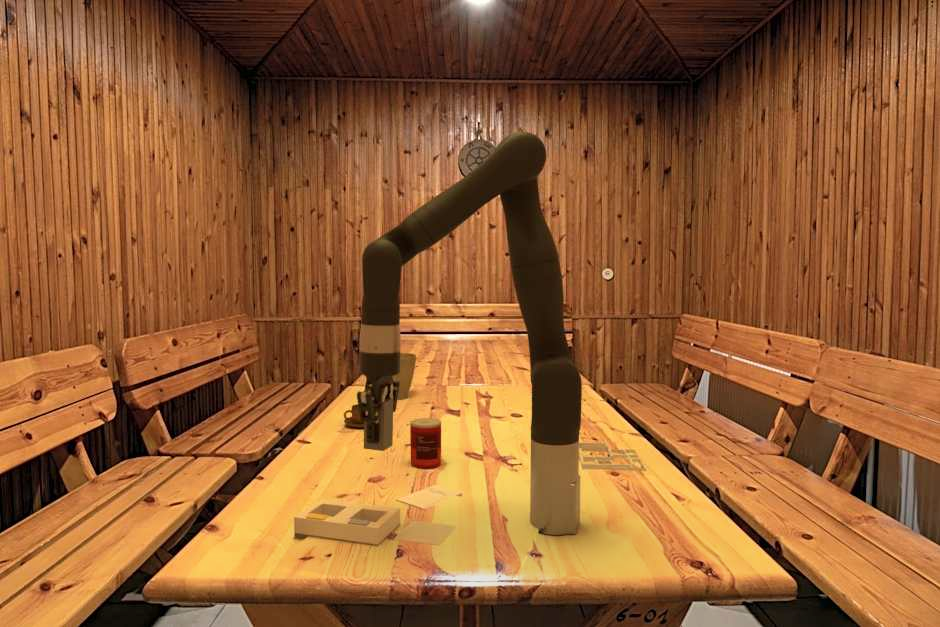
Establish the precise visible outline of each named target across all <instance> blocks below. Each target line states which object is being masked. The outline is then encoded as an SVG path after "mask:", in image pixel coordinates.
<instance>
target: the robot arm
mask: <svg viewBox="0 0 940 627" xmlns="http://www.w3.org/2000/svg"><path fill="white" fill-rule="evenodd" d="M546 161H547V149H546V146H545V144H544V142H543V141H542V139H541V138H540V137H539V136H538V135H536V134H534V133H532V132H528V131H515V132H513V133H510V134H509V135H508V134H507V136H506V137H504V138H503V139H502V140H501V141H500V142H499V143H498V144H497V146H496V147H495V149H494V150H493V151H492V153H491V154H490V155H489V156H488V157H487V158H486V159H485V160H484V161H483V162H481V163H480V164H479V165H477V167H475V168H474V169H473V170H471V172H469V173H468V174H467V175H466V176H464V177H463V178H461V179H460V180H458V181H457V182H455V183H454V184H452V185H451V186H449V187H448V188H446V189H445V190H443V191H442V192H440V193H439V194H437V195H436V196H434V197H432V198H431V199H430V200H428V201H426V202H425V203H424V204H422V205H421V206H420V207H418V208H417V209H416V210H414V211H413V212H412V213H410V214H409V215H408V216H406V217H405V218H404V219H403V220H402V221H401V222H400V223H399V224H398V225H397V226H395V227H393V228H392V229H390V230H388V231H387V232H385V233H384V234H382V235H381V236H380V237H378V238H377V239H375V240H373V241H371V242H370V243H368V244H367V245H366V246H365V248H364V250H363V252H362V256H361V264H362V265H361V266H362V267H361V270H362V291H363V292H362V294H363V295H362V299H361V310H360V312H361V315H360V318H361V320H360V321H361V322H360V323H361V324H360V332H359V347H358V348H359V349H358V350H359V353H358V354H359V355H358V356H359V357H358V358H359V361H358V371H359V374H360V375H362V376H364V377H365V378H366V379H365V384H364V390H363V391H358V392H357V393H356V400H357V404H358V407H359V413H360V419H361V421H364V422H366V423H367V442H368V443H373V444H377V443H378V442H379V424H380V423H379V422H380V411H382V410H383V402H385V400H386V399H391V398H393V413H395V412H396V411H397V404H398V400H397V399H398V392H399V385H400V382H399V381H393V377H392V376H395V375H398V374H399V373H400V353H401V347H402V346H401V342H402V341H401V339H402V336H401V326H400V323H401V322H400V321H401V320H400V319H401V304H400V289H401V280H402V279H401V276H402V267H404V265H406V264H407V263H409V262H410V261H411V260H412V259H413V258H415V257H417V255H419V254H420V253H423V252H424V251H426V250H428V249H430V248H431V247H433V246H434V245H437V243H439V242H440V241H441V240H442V239H444V238H445V237H447V236H448V235H449V234H451V233H452V232H454V231H455V230H456V229H458V227H460V226H462V224H464V222H466V221H467V220H468V219H469V218H470V217H472V216H473V215H474V214H476V213H477V212H478V210H480V209H481V208H483V207H484V206H486V205H487V204H488V203H490V202H491V201H492V200H494V199H495V198H497V197H498V196H499V198H500V201H501V206H502V209H503V213H504V220H505V221H504V222H505V229H506V230H505V231H506V239H507V249H508V255H509V262H510V269H511V270H510V271H511V275H512V281H513V287H514V290H515V291H514V292H515V295H516V298H517V302H518V306H519V310H520V313H521V315H522V320H523V322H524V326H525V328H526V334H527V341H528V348H529V364H530V365H529V368H530V374H529V376H530V384H531V421H530V477H529V479H530V484H529V486H530V488H529V491H530V492H529V493H530V497H529V500H530V501H529V502H530V503H529V505H530V507H529V508H530V510H529V522H530V524H531V526H533V528H535V529H537V530H538V533H541V534H545V535H552V536H562V535H569V534H570V535H571V534H572V535H576V533H577V531H578V528H579V526H580V522H581V475H579V474H580V473H579V471H580V470H579V466H580V465H579V463H580V460H579V442H580V430H581V423H582V401H583V400H582V395H583V394H582V393H583V392H582V390H583V385H582V378H581V374H580V371H579V370H578V368H577V367H576V365H575V363H574V360H573V358H572V354H571V351H570V347H569V343H568V339H567V335H566V331H565V330H566V329H565V324H564V323H565V322H564V320H565V319H564V317H565V315H564V314H565V313H564V312H565V311H564V309H565V307H564V302H565V301H564V300H565V297H564V296H565V294H564V285H563V284H564V283H563V276H562V274H563V273H562V269H561V263H560V259H559V252H558V248H557V245H556V243H555V240H554V237H553V235H552V232H551V230H550V227H549V226H548V224H547V220H546V218H545V216H544V214H543V209H542V205H541V199H540V191H539V180H538V177H539V176H540V174H541V172H542V171H543V169H544V167H545V165H546V163H547V162H546ZM374 403H375V404H378V403H379V405H378V406H374ZM365 411H366V415H365ZM375 411H376V414H375Z"/></svg>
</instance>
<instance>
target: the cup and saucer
mask: <svg viewBox="0 0 940 627" xmlns="http://www.w3.org/2000/svg"><path fill="white" fill-rule="evenodd" d="M348 413H351V416H349V417H347V414H348ZM343 417H344V420H343V421H344V424H345V425H346V426H349V427H352V428H356V429H357V428H359V429H364V421H361V419H360V413H359V407H358V403H357V404H354V405H352V406H351V409H348V410H346V411H344V413H343Z"/></svg>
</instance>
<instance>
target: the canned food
mask: <svg viewBox="0 0 940 627" xmlns="http://www.w3.org/2000/svg"><path fill="white" fill-rule="evenodd" d="M409 425H410V426H409V427H410V428H409V429H410V430H409V431H410V432H409V433H410V434H409V436H410V464H411V465H412V466H413V467H414V468H417V469H424V470H426V469H434V468H439V467H440V465H441V462H442V422H441V420H440V419H437V418H433V417H421V418H420V417H419V418H415V419H412V420H410V424H409Z"/></svg>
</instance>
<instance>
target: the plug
mask: <svg viewBox="0 0 940 627" xmlns="http://www.w3.org/2000/svg"><path fill="white" fill-rule="evenodd" d="M378 405H379V403H378V404H375V403H374V406H378ZM375 414H376V411H375ZM365 415H366V411H365ZM379 423H380V424H379V442H378V443H377V444H373V443H368V442H367V423H366V422H364V428H363V449H364V450H371V451H381V452H384V451H385V450H388V449H389V448H390V447H392V446H394V445H393V442H394V440H393V436H394V434H393V433H394V412H393V398H391V399H386V400H385V402H383V410H382V411H380V422H379Z"/></svg>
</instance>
